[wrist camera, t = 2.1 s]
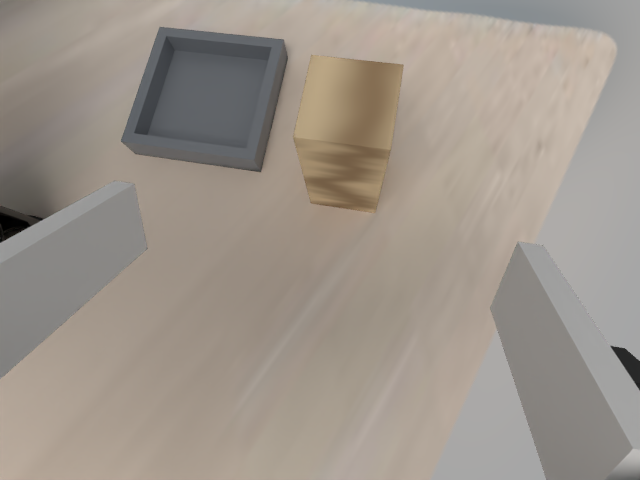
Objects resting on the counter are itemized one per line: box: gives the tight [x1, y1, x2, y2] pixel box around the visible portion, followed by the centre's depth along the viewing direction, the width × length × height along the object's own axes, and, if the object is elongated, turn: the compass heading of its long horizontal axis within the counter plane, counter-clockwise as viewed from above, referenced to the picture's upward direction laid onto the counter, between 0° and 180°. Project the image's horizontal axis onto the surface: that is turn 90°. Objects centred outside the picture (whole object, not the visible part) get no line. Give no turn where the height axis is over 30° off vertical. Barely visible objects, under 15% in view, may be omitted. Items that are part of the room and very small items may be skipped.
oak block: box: [293, 55, 404, 213], centre depth 29 cm, size 6×6×12 cm
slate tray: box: [121, 27, 288, 172], centre depth 36 cm, size 13×13×2 cm
